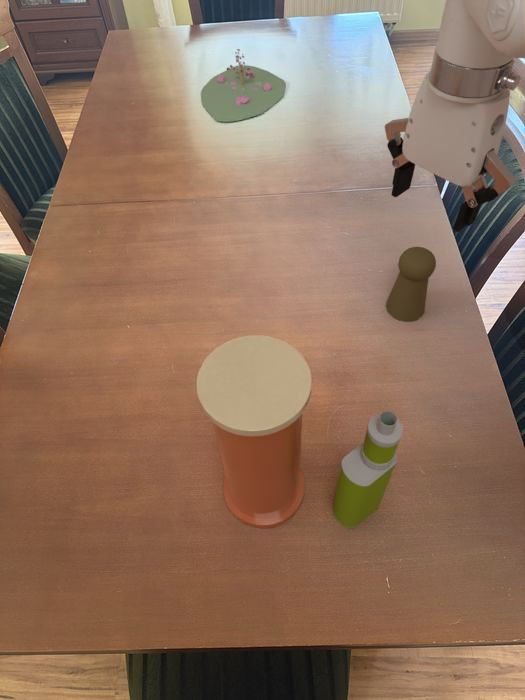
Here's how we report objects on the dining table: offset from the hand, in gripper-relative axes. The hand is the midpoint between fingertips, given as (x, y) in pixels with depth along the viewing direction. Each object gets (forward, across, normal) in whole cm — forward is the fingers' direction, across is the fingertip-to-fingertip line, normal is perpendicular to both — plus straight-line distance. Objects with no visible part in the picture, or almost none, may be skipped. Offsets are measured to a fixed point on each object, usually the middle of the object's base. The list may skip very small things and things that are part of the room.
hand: (430, 208), depth 66 cm
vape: (+18, -16, +30) cm, 39 cm away
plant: (+20, +70, -26) cm, 77 cm away
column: (+18, -7, +36) cm, 41 cm away
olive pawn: (+19, 0, 0) cm, 19 cm away
